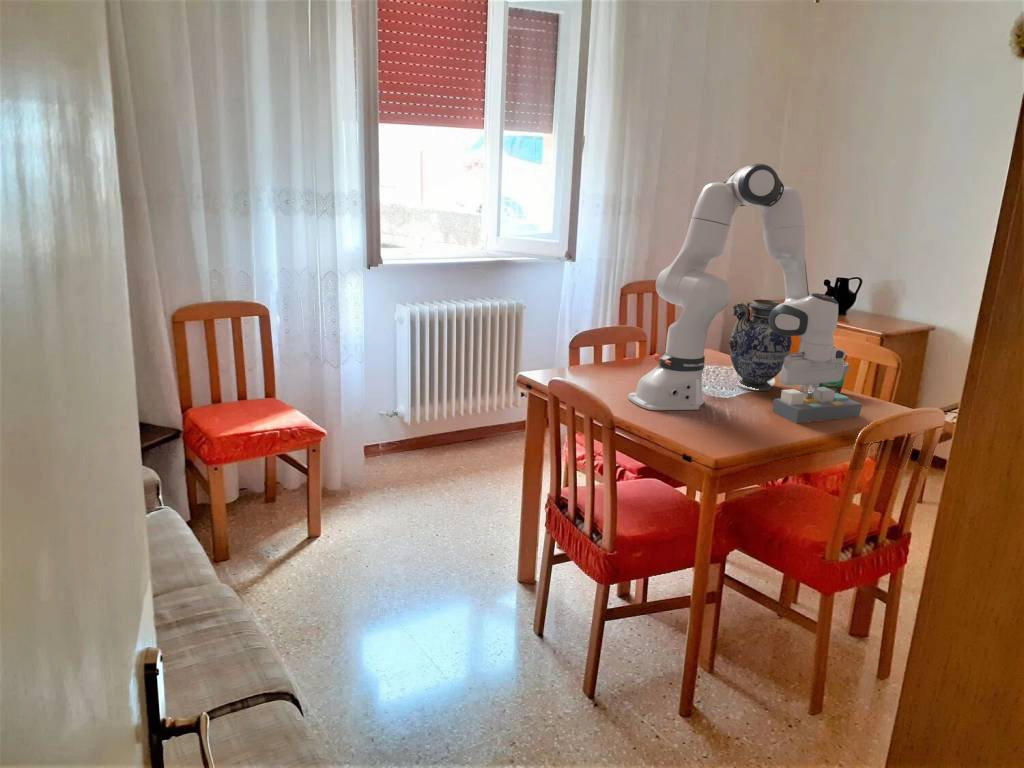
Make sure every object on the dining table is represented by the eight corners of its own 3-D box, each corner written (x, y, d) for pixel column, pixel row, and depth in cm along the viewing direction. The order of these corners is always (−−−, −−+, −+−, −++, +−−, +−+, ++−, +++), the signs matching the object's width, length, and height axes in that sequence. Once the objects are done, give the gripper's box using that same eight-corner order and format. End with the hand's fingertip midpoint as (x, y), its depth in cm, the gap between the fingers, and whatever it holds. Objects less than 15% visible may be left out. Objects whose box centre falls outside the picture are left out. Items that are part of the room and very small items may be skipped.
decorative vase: (734, 394, 232) (746, 305, 224) (711, 378, 250) (722, 295, 242) (798, 395, 235) (813, 307, 227) (771, 379, 253) (784, 297, 245)
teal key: (834, 409, 219) (836, 398, 218) (823, 404, 223) (825, 393, 222) (846, 408, 221) (848, 397, 219) (835, 403, 224) (837, 392, 223)
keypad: (796, 423, 209) (798, 409, 208) (772, 411, 218) (774, 398, 217) (859, 416, 217) (862, 403, 216) (834, 406, 226) (836, 392, 225)
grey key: (821, 403, 216) (823, 392, 215) (810, 398, 220) (812, 387, 219) (833, 402, 218) (835, 391, 217) (822, 397, 222) (824, 386, 221)
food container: (816, 397, 234) (822, 366, 231) (806, 391, 240) (811, 361, 237) (852, 397, 236) (858, 366, 233) (841, 391, 242) (847, 361, 239)
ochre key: (804, 412, 215) (806, 400, 214) (794, 407, 219) (796, 396, 218) (816, 411, 217) (818, 399, 216) (806, 406, 221) (808, 395, 220)
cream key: (790, 406, 212) (792, 394, 211) (780, 401, 216) (781, 390, 215) (802, 405, 214) (804, 393, 213) (792, 400, 218) (794, 389, 217)
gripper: (793, 356, 206) (786, 403, 211) (850, 352, 214) (842, 398, 218) (778, 350, 212) (771, 396, 216) (834, 346, 219) (826, 391, 223)
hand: (807, 397), depth 217 cm, fingers closed, pressing on ochre key
